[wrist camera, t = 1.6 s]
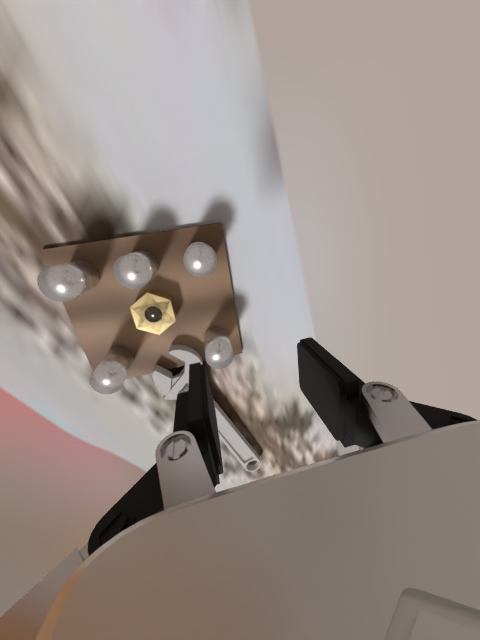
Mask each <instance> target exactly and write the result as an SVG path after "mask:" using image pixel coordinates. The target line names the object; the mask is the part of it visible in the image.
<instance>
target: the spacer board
mask: <svg viewBox="0 0 480 640" xmlns="http://www.w3.org/2000/svg"><path fill="white" fill-rule="evenodd" d="M193 242H204V243H206V244H207V245H209V246H210V247H211V248H212V249H213V250H214V251H215V253H216V256H217V265H216V268H215V270H214V271H213V272H212V273H211V274H210V275H208V276H205V277H197V276H194V275H192V274H191V273H189V272H188V271H187V269H186V268H185V265H184V261H183V258H184V253H185V251H186V249H187V247H188V246H189V245H190V244H191V243H193ZM40 251H41V254H42V256H43V258H44V260H45V263H46V265H47V267H50V266H55V265H60V264H64V263H69V262H73V261H78V260H85V261H88V262H90V263H92V264H93V265H95V266H96V268H97V269H98V271H99V273H100V281H99V283H98V285H97V286H96V287H94V288H92V289H90V290H88V291H86V292H85V293H83V294H81V295H79V296H77V297H75V298H73V299H71V300H69V301H65V302H63V304H64V306H65V308H66V310H67V313H68V315H69V317H70V319H71V322H72V324H73V326H74V329H75V331H76V333H77V335H78V338H79V340H80V342H81V344H82V347H83V349H84V351H85V354H86V356H87V358H88V360H89V363H90V365H91V367H92V369H93V372H94V371H95V369H96V368H97V366H98V365H99V364H100V362H101V361H102V360H103V358H104V357H105V355H106V354H107V353H108V351H109V350H110V349H111V348H113V347H115V346H124V347H127V348H129V349H130V350H131V351H132V352H133V354H134V361H133V363H132V366H131V368H130V370H129V372H128V374H127V376H126V378H125V379H127V378H132V377H136V376H141V375H145V374H150V373H153V369H154V366H155V365H156V364H157V365H159V366H161V367H163V368H165V369H167V370H168V369H172V368H177V367H181V366H185V362H184V361H182V360H180V359H178V358H176V357H175V356H173V355H171V354H169V348H170V347H171V346H172V345H180V344H181V345H185V346H189V347H191V348H193V349H194V350H196V351H197V352H198V353H199V354H200V356H201V358H202V361H203V362H204V361H206V358H205V348H204V333H205V332H206V330H207V329H209V328H210V327H213V326H219V327H222V328H223V329H225V331H226V332H227V335H228V338H229V341H230V344H231V346H232V349H233V353H234V355H235V354H240V353H242V348H241V342H240V336H239V330H238V323H237V317H236V311H235V305H234V298H233V292H232V286H231V280H230V273H229V267H228V261H227V255H226V248H225V242H224V236H223V230H222V223H215V224H209V225H202V226H195V227H189V228H182V229H175V230H169V231H162V232H156V233H149V234H142V235H136V236H129V237H122V238H116V239H109V240H102V241H96V242H89V243H82V244H76V245H69V246H63V247H56V248H49V249H43V250H40ZM136 251H147V252H149V253H151V254H152V255H153V256H154V257H155V258H156V260H157V262H158V270H157V273H156V274H155V275H154V276H153V277H152V278H151V280H150V281H149V282H148V283H147V284H146V285H144V286H143V287H141V288H138V289H130V288H126V287H124V286H123V285H121V284H120V283H119V282H118V281H117V280H116V278H115V276H114V272H113V267H114V263H115V261H116V260H117V259H118V258H119V257H121V256H123V255H126V254H129V253H133V252H136ZM150 289H153V290H156V291H159V292H162V293H165V294H168V295H171V296H172V298H173V302H174V306H175V310H176V314H177V317H176V321H175V322H174V323H173V324H172V325H170V326H169V327H168V328H167V329H166V330H165V331H163V332H162V333H161V334H160V335H158V334H154V333H151V332H147V331H143V330H140V329H137V328H136V325H135V322H134V319H133V316H132V313H131V310H130V307H131V306H132V305H133V303H134V302H135V301H137V300H138V299H139V298H140V297H141V296H142V295H144V294H145V293H146V292H147V291H148V290H150Z"/></svg>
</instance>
